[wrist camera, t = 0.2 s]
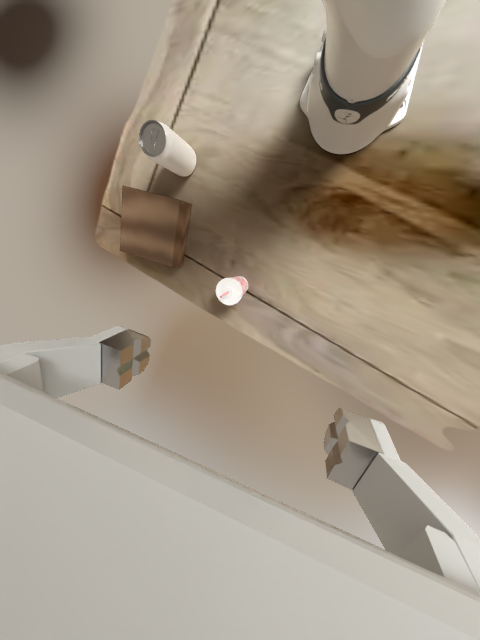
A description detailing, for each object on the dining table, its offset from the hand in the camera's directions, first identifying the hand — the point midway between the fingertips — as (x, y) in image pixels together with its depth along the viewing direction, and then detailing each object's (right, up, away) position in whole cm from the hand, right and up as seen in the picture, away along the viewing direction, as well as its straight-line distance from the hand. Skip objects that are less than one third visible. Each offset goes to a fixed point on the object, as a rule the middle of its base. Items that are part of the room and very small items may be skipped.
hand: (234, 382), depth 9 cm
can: (-13, +40, +43) cm, 60 cm away
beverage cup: (0, +12, +48) cm, 50 cm away
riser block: (-20, +27, +50) cm, 60 cm away
